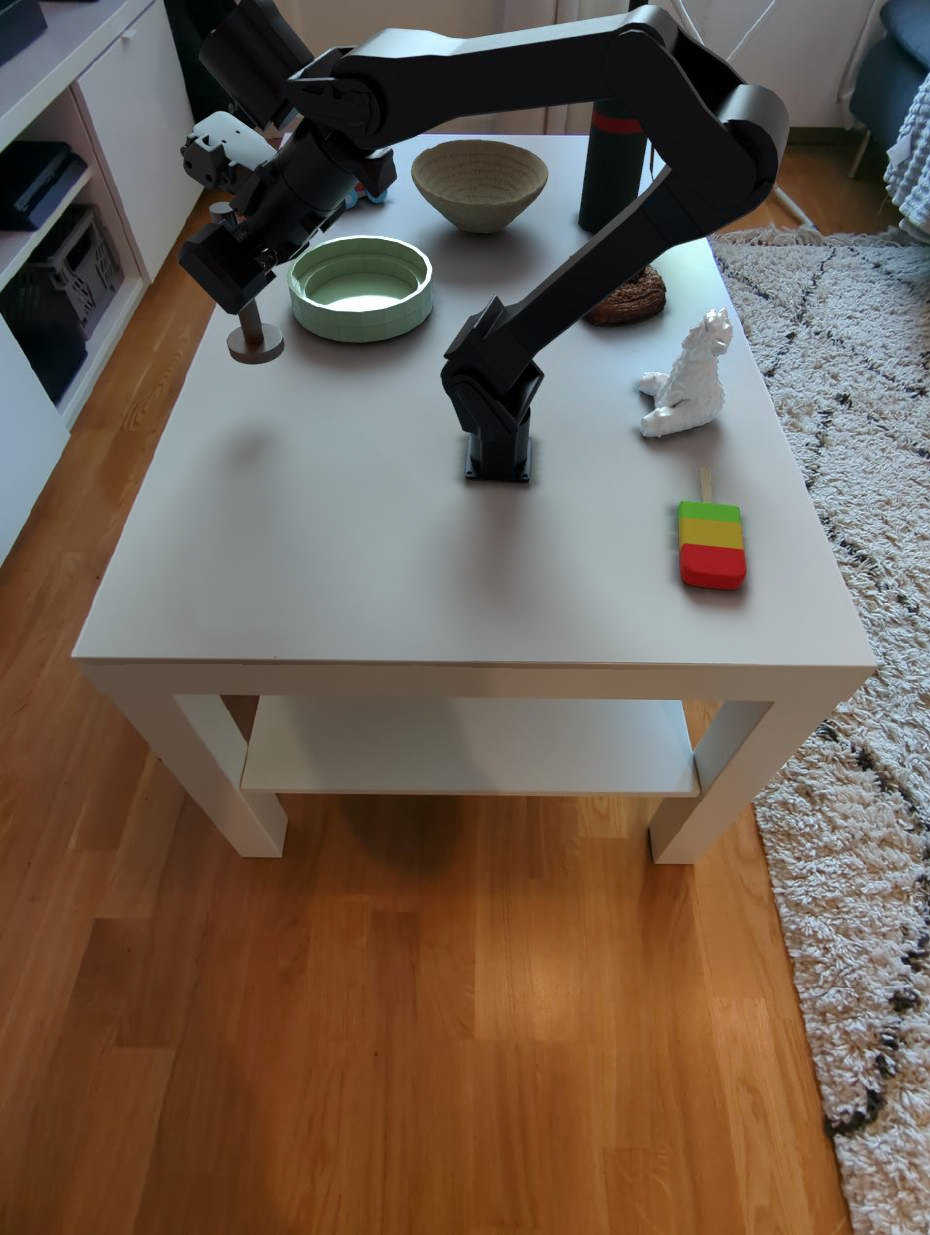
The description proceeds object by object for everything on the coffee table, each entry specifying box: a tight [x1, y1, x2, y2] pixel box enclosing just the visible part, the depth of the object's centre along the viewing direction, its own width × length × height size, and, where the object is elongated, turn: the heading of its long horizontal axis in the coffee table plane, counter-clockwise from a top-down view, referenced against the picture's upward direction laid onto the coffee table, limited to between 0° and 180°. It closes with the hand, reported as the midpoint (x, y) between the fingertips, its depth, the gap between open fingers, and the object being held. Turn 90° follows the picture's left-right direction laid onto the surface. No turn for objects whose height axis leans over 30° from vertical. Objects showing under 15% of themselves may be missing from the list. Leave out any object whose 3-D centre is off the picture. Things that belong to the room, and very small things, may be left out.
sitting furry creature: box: [638, 307, 734, 439], centre depth 76 cm, size 10×9×12 cm
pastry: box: [568, 255, 668, 328], centre depth 92 cm, size 11×12×6 cm
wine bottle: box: [577, 0, 656, 236], centre depth 94 cm, size 8×10×30 cm
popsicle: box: [677, 466, 747, 591], centre depth 70 cm, size 6×15×2 cm, turn 172°
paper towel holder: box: [208, 201, 286, 366], centre depth 71 cm, size 6×6×14 cm
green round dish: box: [285, 235, 435, 344], centre depth 91 cm, size 17×17×4 cm
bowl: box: [410, 138, 549, 234], centre depth 102 cm, size 18×18×8 cm
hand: (228, 280), depth 71 cm, fingers closed on paper towel holder
